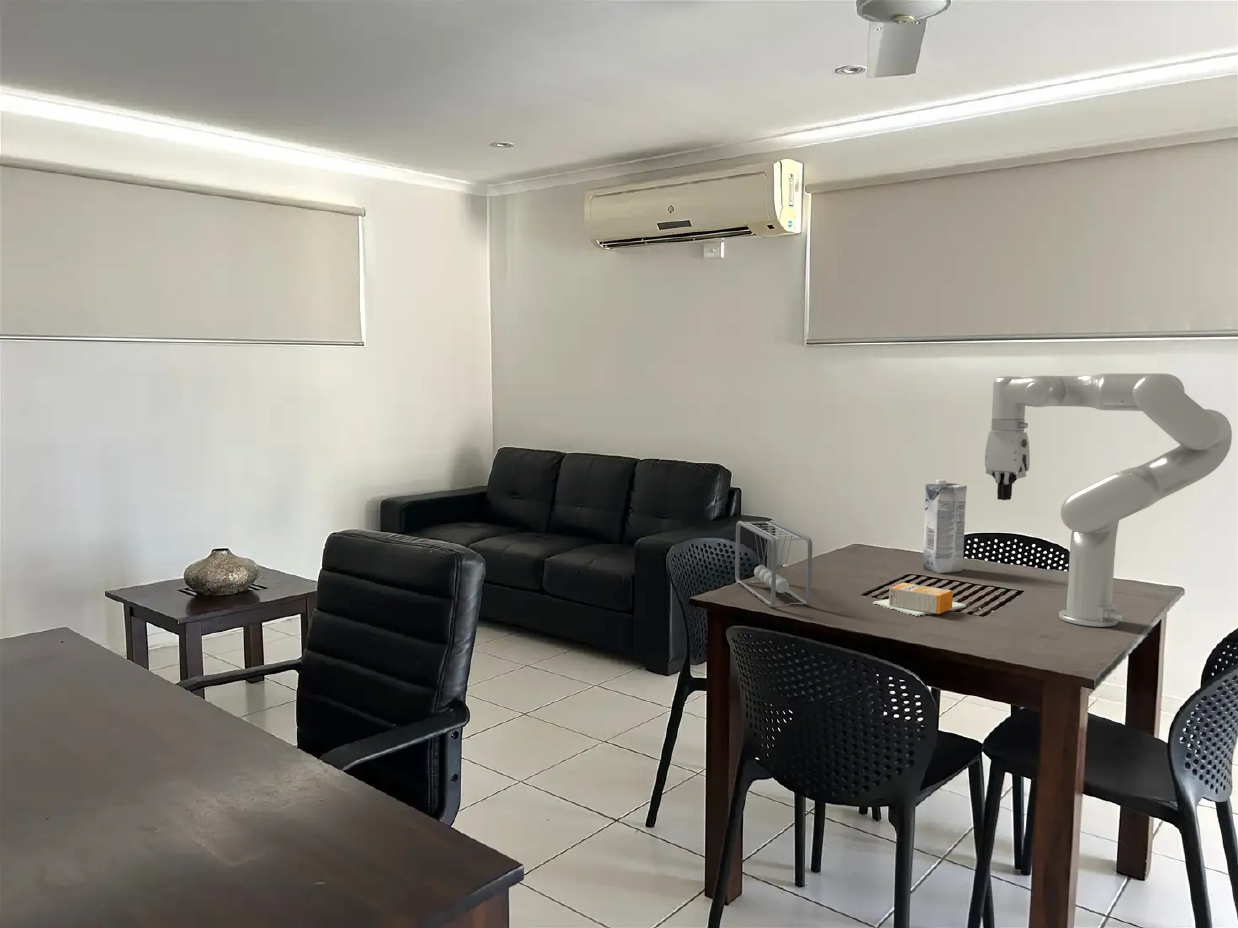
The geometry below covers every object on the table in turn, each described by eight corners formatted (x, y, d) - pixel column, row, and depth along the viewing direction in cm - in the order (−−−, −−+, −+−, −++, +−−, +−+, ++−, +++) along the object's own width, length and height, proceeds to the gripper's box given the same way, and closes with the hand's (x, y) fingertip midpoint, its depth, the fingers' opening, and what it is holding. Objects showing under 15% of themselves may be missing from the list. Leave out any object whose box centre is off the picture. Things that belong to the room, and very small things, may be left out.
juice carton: (967, 571, 273) (971, 481, 270) (939, 574, 269) (942, 482, 266) (945, 565, 281) (949, 477, 278) (918, 568, 277) (921, 479, 274)
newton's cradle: (734, 582, 259) (735, 519, 257) (770, 580, 261) (771, 518, 259) (771, 609, 229) (773, 539, 227) (811, 607, 231) (813, 537, 229)
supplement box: (940, 595, 222) (888, 586, 230) (939, 614, 222) (888, 605, 231) (953, 589, 228) (902, 581, 237) (952, 608, 228) (902, 600, 237)
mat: (965, 607, 232) (965, 604, 232) (916, 616, 223) (916, 614, 223) (921, 595, 244) (921, 593, 244) (872, 604, 235) (872, 601, 235)
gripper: (1044, 427, 225) (1040, 502, 227) (991, 424, 238) (988, 494, 240) (1024, 428, 221) (1021, 504, 223) (972, 425, 234) (969, 496, 236)
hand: (1004, 499), depth 232 cm, fingers closed
